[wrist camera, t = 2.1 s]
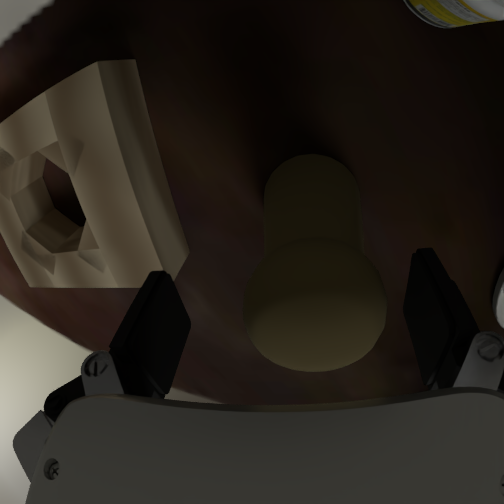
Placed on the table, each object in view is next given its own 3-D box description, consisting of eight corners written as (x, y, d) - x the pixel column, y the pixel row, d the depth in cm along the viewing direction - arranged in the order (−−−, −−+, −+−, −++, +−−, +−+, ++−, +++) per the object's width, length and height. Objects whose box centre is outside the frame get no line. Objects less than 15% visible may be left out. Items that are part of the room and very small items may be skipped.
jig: (135, 59, 14) (96, 61, 11) (189, 251, 22) (170, 286, 18) (1, 134, 18) (-31, 150, 15) (52, 262, 25) (30, 286, 22)
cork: (252, 226, 20) (208, 369, 11) (279, 139, 16) (246, 242, 7) (338, 253, 20) (351, 401, 11) (375, 174, 16) (443, 304, 7)
